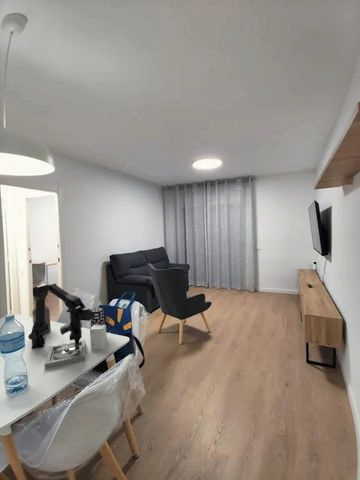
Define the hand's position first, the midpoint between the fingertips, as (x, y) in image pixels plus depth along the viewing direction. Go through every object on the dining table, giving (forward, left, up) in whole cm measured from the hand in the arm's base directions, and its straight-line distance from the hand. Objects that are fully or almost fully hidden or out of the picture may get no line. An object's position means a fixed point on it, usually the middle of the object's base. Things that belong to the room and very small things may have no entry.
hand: (77, 344), depth 144 cm
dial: (-6, -2, -3) cm, 7 cm away
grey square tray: (-6, -2, -5) cm, 8 cm away
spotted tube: (+12, +12, -5) cm, 18 cm away
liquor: (-24, +39, -5) cm, 46 cm away
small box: (+12, +1, -5) cm, 13 cm away
